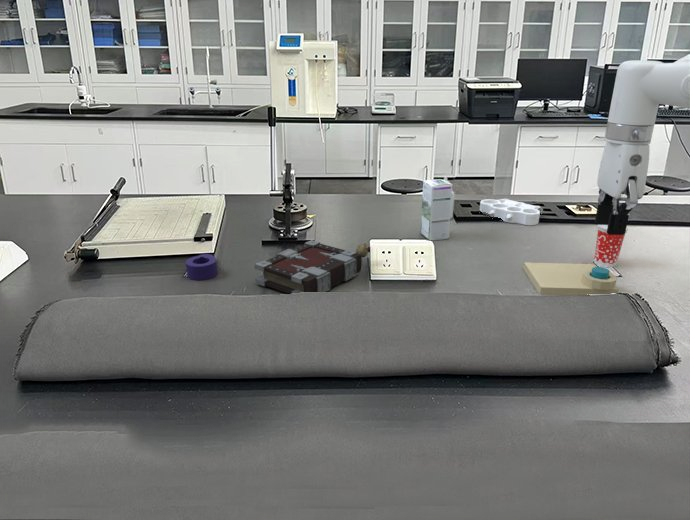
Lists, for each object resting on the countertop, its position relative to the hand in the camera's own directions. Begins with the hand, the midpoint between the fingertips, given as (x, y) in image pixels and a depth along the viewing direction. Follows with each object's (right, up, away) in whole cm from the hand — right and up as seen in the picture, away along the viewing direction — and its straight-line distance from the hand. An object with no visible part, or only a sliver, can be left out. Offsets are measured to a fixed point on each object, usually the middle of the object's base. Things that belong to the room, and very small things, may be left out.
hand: (609, 228), depth 102 cm
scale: (-4, -11, +9) cm, 15 cm away
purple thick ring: (-82, -8, +15) cm, 84 cm away
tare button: (0, -10, +4) cm, 10 cm away
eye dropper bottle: (-23, +6, +50) cm, 55 cm away
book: (-56, -9, +12) cm, 58 cm away
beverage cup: (+8, -7, +19) cm, 22 cm away
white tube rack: (-3, +6, +52) cm, 52 cm away
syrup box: (-28, 0, +35) cm, 45 cm away
